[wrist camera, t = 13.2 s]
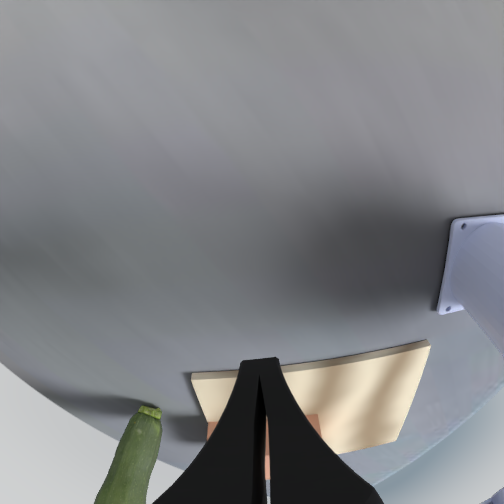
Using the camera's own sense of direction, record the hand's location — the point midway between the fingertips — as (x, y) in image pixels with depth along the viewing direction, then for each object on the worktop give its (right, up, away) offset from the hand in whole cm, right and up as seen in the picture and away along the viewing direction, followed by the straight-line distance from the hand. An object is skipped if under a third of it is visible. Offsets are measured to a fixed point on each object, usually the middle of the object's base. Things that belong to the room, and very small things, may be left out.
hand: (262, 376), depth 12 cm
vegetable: (-11, -10, +15) cm, 21 cm away
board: (+6, -11, +16) cm, 20 cm away
